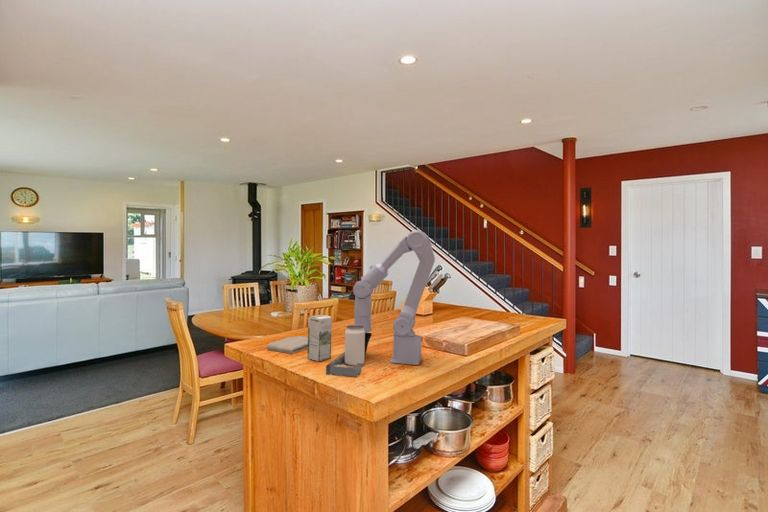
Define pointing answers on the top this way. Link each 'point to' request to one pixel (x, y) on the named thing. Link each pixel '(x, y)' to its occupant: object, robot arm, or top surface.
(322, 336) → the syrup box
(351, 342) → the can
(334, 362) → the metal bracket
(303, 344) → the washcloth
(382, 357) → the top surface
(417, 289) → the robot arm
